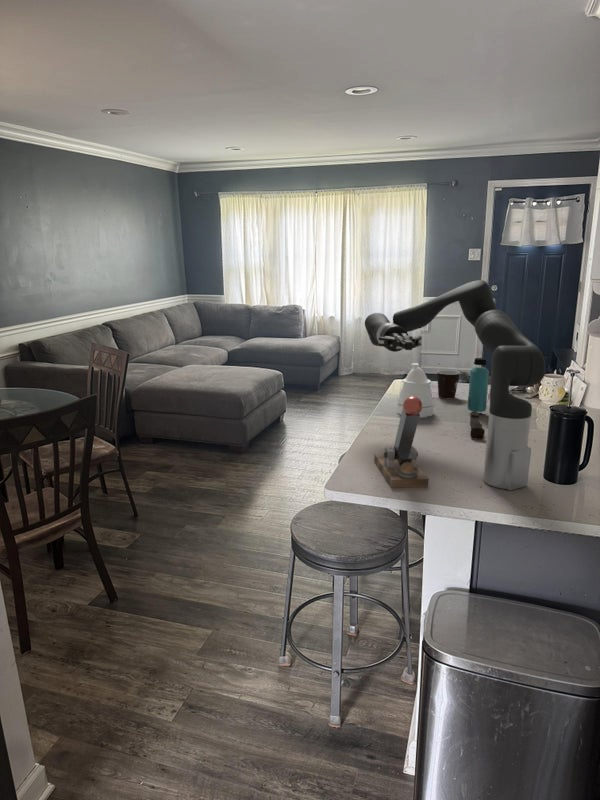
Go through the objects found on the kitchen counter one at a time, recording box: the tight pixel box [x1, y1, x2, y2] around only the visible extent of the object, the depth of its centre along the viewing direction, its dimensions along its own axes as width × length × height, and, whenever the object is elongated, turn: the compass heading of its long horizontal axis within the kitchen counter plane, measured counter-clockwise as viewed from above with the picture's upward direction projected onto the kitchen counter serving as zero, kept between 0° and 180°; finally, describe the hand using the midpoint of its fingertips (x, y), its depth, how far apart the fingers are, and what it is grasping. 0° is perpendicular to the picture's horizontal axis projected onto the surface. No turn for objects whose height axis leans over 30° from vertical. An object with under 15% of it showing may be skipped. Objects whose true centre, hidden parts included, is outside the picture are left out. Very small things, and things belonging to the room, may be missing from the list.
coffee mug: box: [436, 369, 460, 399], centre depth 215 cm, size 12×9×10 cm
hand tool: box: [469, 411, 485, 440], centre depth 173 cm, size 19×4×5 cm, turn 164°
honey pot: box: [396, 362, 435, 418], centre depth 192 cm, size 13×13×18 cm
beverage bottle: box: [467, 357, 490, 413], centre depth 190 cm, size 6×7×20 cm
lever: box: [392, 397, 422, 465], centre depth 129 cm, size 6×4×20 cm
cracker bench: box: [373, 445, 430, 489], centre depth 136 cm, size 18×9×6 cm, turn 5°
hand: (409, 346), depth 143 cm, fingers closed
